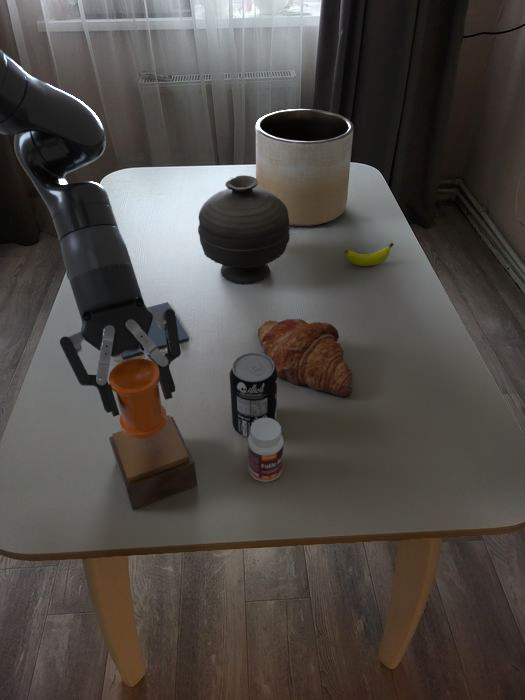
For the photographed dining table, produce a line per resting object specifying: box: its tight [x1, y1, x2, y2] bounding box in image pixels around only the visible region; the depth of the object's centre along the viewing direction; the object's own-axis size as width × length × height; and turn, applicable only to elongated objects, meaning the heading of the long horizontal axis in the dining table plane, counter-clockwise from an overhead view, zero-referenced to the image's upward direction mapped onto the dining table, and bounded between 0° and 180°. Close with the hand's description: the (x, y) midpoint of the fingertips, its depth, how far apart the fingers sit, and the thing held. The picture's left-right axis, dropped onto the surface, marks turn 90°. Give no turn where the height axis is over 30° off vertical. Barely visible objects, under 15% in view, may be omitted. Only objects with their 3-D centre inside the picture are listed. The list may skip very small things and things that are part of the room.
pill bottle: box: [247, 418, 285, 483], centre depth 74 cm, size 5×5×8 cm
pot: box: [197, 174, 291, 286], centre depth 109 cm, size 18×18×20 cm
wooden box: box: [108, 414, 198, 511], centre depth 75 cm, size 9×9×6 cm
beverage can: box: [229, 351, 278, 439], centre depth 79 cm, size 7×7×12 cm
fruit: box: [344, 242, 395, 267], centre depth 115 cm, size 10×2×5 cm, turn 97°
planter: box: [255, 108, 354, 227], centre depth 130 cm, size 22×22×20 cm
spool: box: [108, 357, 168, 439], centre depth 67 cm, size 6×6×8 cm
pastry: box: [256, 318, 354, 398], centre depth 91 cm, size 17×15×8 cm
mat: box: [120, 301, 190, 360], centre depth 100 cm, size 12×12×1 cm
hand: (143, 406), depth 66 cm, fingers closed on spool, 5 cm apart
